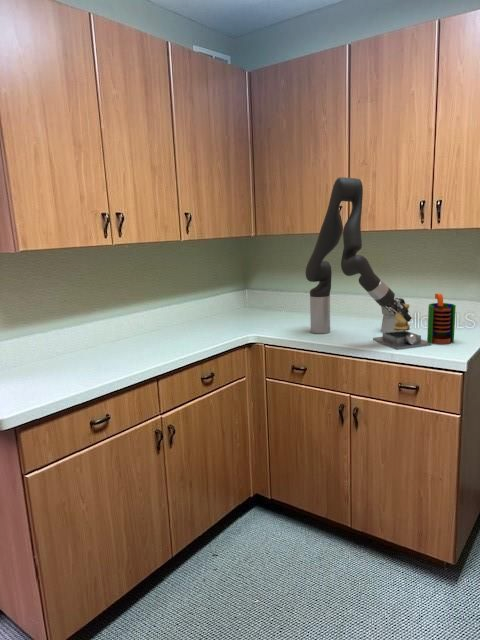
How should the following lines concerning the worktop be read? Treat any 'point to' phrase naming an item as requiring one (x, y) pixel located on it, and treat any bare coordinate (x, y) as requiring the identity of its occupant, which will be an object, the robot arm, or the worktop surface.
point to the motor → (441, 322)
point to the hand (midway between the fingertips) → (405, 318)
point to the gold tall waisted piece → (401, 322)
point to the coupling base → (402, 340)
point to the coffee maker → (389, 318)
